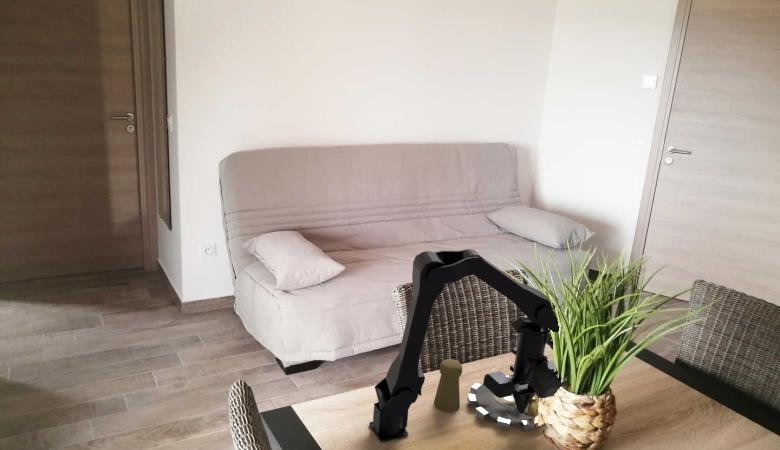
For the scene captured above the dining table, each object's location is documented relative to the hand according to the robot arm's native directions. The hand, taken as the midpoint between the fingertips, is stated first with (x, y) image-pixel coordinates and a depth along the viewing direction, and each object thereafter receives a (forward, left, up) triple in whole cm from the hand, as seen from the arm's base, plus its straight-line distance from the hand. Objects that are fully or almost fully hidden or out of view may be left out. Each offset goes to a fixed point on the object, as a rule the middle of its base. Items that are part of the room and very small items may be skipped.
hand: (520, 412), depth 128 cm
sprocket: (+2, +6, -3) cm, 7 cm away
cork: (-11, +12, -3) cm, 17 cm away
